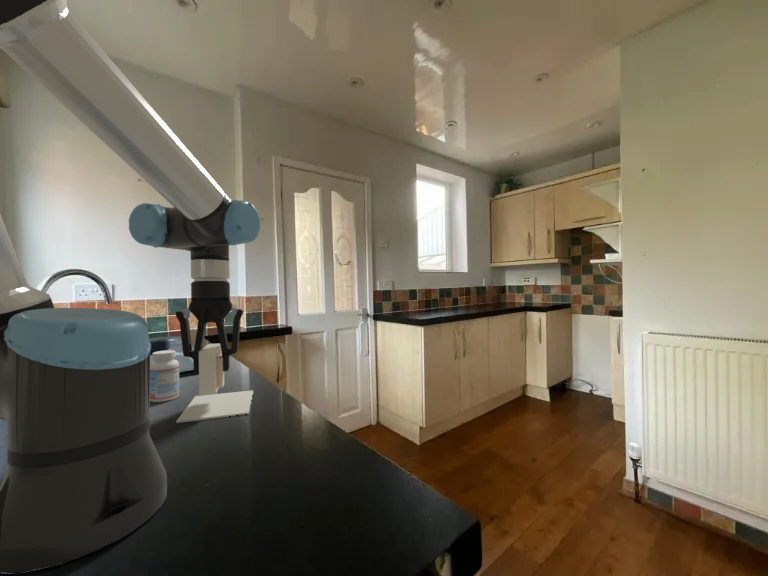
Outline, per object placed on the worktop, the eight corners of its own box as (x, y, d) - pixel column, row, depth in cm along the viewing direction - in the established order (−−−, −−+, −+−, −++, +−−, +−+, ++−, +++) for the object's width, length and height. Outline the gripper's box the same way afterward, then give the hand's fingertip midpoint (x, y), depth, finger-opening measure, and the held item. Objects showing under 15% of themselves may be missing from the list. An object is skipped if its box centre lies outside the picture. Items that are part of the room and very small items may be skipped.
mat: (248, 414, 67) (248, 412, 67) (176, 423, 63) (176, 421, 63) (253, 391, 82) (253, 390, 82) (195, 397, 78) (195, 396, 78)
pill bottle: (148, 398, 78) (148, 351, 78) (178, 393, 82) (177, 348, 82) (148, 405, 73) (148, 355, 73) (180, 399, 77) (180, 352, 77)
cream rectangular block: (215, 394, 67) (215, 350, 67) (199, 395, 66) (198, 351, 66) (223, 381, 76) (222, 343, 76) (208, 382, 75) (208, 344, 75)
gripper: (251, 280, 77) (252, 378, 77) (173, 281, 72) (174, 386, 72) (249, 279, 70) (250, 387, 70) (162, 280, 65) (163, 396, 65)
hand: (212, 386), depth 71 cm, fingers closed on cream rectangular block, 3 cm apart
